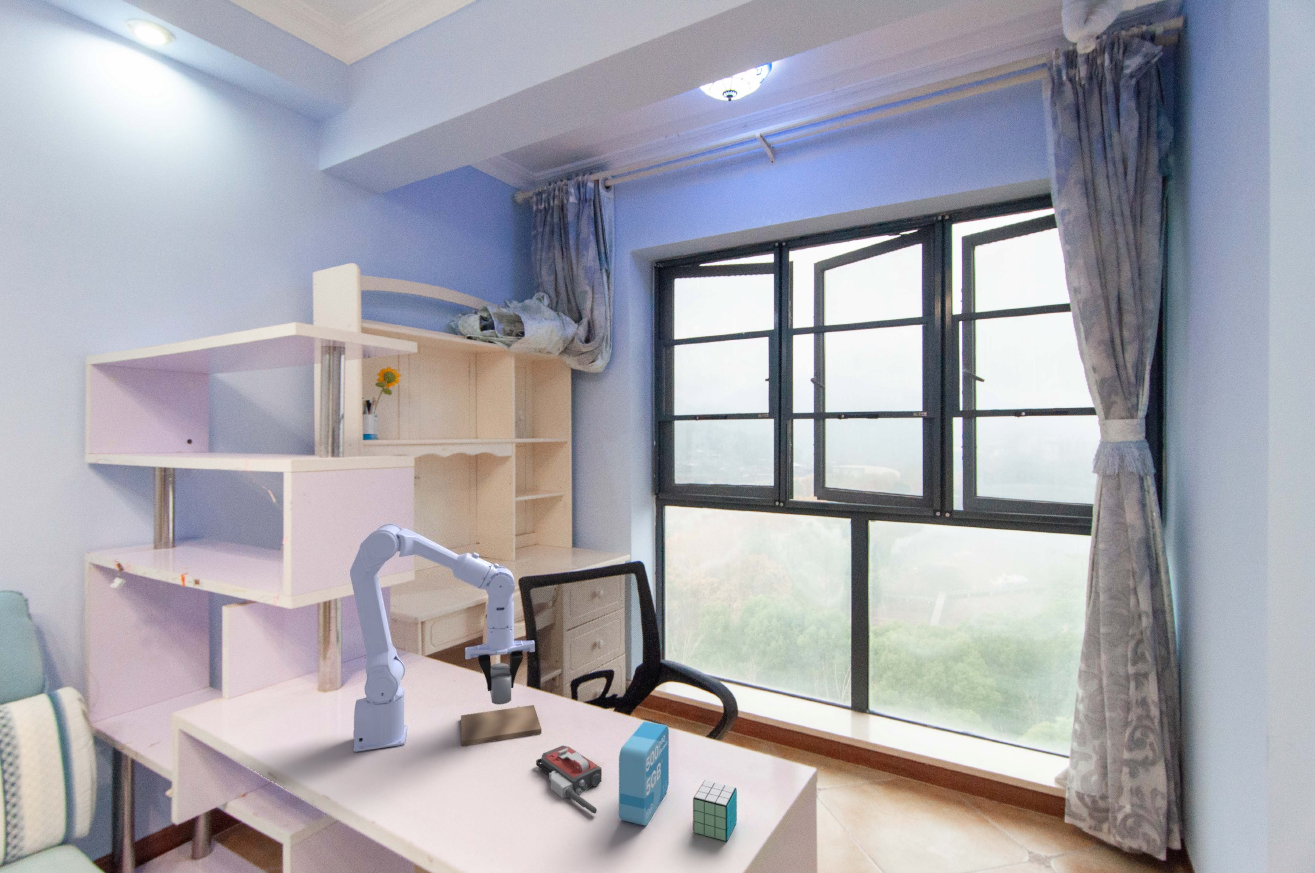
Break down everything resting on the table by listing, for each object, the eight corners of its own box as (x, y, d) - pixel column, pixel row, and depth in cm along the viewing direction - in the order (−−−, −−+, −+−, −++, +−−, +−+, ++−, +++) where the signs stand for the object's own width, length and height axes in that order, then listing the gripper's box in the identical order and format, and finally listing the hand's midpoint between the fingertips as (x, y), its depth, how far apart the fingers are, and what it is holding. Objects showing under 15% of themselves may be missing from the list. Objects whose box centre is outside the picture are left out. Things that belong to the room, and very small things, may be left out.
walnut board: (462, 745, 122) (462, 740, 122) (460, 719, 134) (460, 715, 134) (541, 733, 128) (541, 728, 128) (533, 709, 139) (533, 704, 139)
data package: (644, 830, 96) (644, 755, 96) (618, 823, 98) (618, 749, 98) (669, 789, 107) (669, 722, 107) (645, 784, 109) (645, 717, 109)
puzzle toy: (727, 842, 93) (727, 806, 93) (692, 833, 96) (692, 797, 96) (737, 821, 98) (737, 786, 98) (704, 812, 101) (704, 778, 101)
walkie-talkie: (525, 772, 113) (590, 822, 99) (525, 749, 113) (590, 795, 99) (564, 756, 119) (630, 800, 105) (564, 733, 119) (630, 775, 105)
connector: (492, 705, 125) (492, 681, 125) (488, 681, 137) (488, 659, 137) (512, 702, 126) (512, 678, 126) (506, 679, 139) (506, 657, 139)
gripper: (465, 634, 125) (465, 699, 124) (536, 627, 129) (536, 690, 129) (465, 624, 131) (464, 686, 131) (532, 617, 136) (532, 677, 136)
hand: (500, 687), depth 131 cm, fingers closed on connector, 4 cm apart
